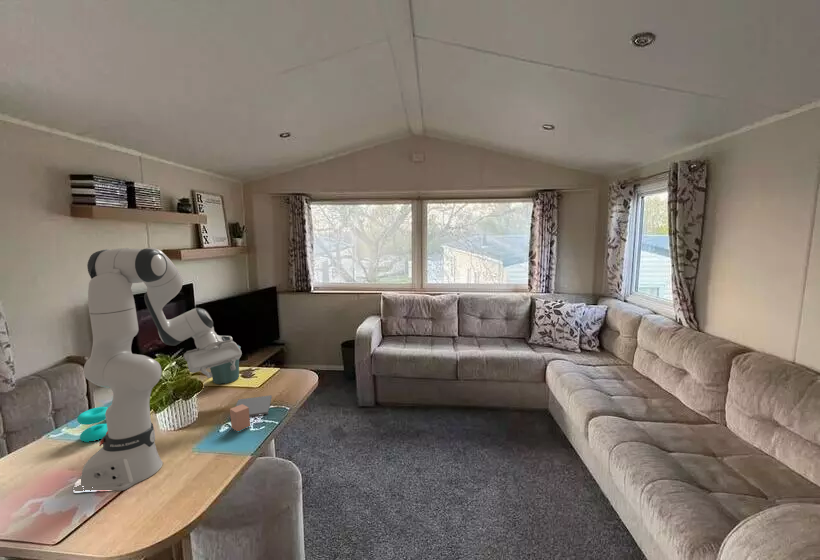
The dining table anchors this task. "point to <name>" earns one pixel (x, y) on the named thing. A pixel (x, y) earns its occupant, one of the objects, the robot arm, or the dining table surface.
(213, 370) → the flower pot
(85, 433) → the donuts
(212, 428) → the dining table surface
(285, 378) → the dining table surface
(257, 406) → the slate board
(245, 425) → the terracotta block
